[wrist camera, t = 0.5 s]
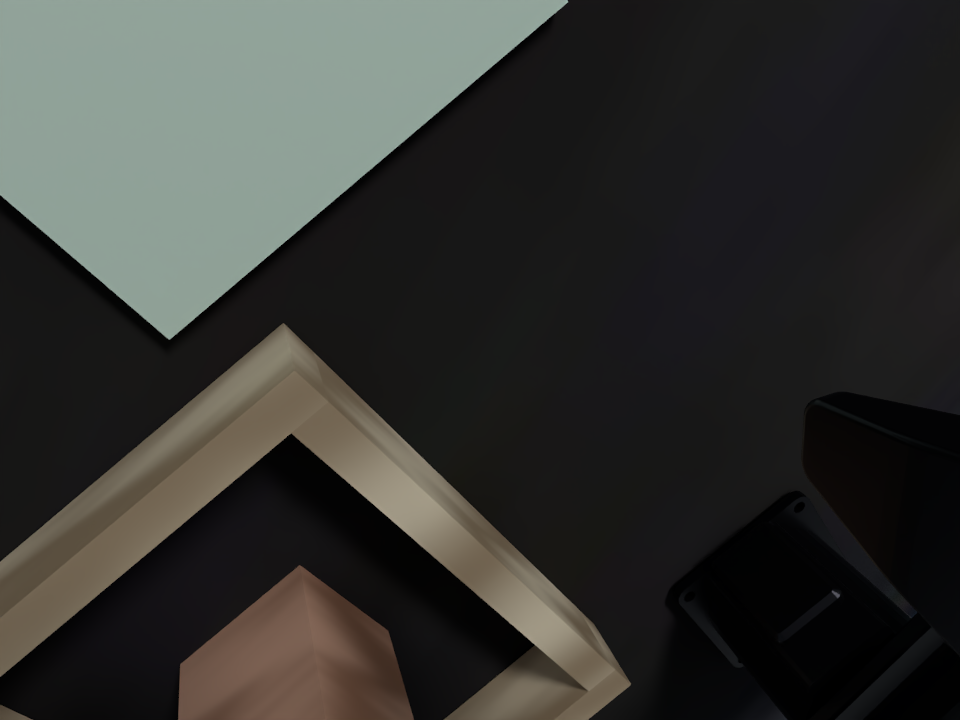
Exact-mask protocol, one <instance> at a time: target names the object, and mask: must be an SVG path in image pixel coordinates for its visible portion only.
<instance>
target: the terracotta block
mask: <svg viewBox="0 0 960 720" xmlns="http://www.w3.org/2000/svg"><path fill="white" fill-rule="evenodd" d="M178 720H414V718H413V715H412V711H411V708H410V704H409V701H408V697H407V694H406V691H405V687H404V684H403V680H402V677H401V673H400V670H399V666H398V663H397V659H396V656H395V652H394V649H393V646H392V642H391V639H390V635H389V632H388V630H386V629H385V628H384V627H382V626H381V625H380V624H378V623H377V622H376V621H374V620H373V619H372V618H370V617H369V616H367V615H366V614H365V613H363V612H362V611H361V610H359V609H358V608H357V607H355V606H354V605H353V604H351V603H350V602H349V601H347V600H346V599H345V598H343V597H342V596H341V595H339V594H338V593H337V592H335V591H334V590H333V589H331V588H330V587H328V586H327V585H326V584H324V583H323V582H322V581H320V580H319V579H318V578H316V577H315V576H314V575H312V574H311V573H310V572H308V571H307V570H306V569H304V568H303V567H302V566H300V565H299V566H298V567H297V568H296V569H295V570H293V571H292V572H291V573H290V574H289V575H287V576H286V577H285V578H284V579H283V580H281V581H280V582H279V583H278V584H277V585H275V586H274V587H273V588H272V589H271V590H269V591H268V592H267V593H266V594H264V595H263V596H262V597H261V598H260V599H258V600H257V601H256V602H255V603H254V604H252V605H251V606H250V607H249V608H248V609H246V610H245V611H244V612H243V613H242V614H240V615H239V616H238V617H237V618H236V619H234V620H233V621H232V622H231V623H230V624H228V625H227V626H226V627H225V628H224V629H222V630H221V631H220V632H219V633H218V634H216V635H215V636H214V637H213V638H212V639H210V640H209V641H208V642H207V643H205V644H204V645H203V646H202V647H201V648H199V649H198V650H197V651H196V652H195V653H193V654H192V655H191V656H190V657H189V658H187V659H186V660H185V661H184V662H183V663H181V664H180V684H179V712H178Z"/></svg>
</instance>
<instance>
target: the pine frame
mask: <svg viewBox="0 0 960 720" xmlns="http://www.w3.org/2000/svg"><path fill="white" fill-rule="evenodd" d="M291 433H292V434H293V435H294V436H295V437H296V438H297V439H298V440H300V441H301V442H302V443H303V444H304V445H305V446H307V447H308V448H309V449H310V450H311V451H312V452H313V453H315V454H316V455H317V456H318V457H319V458H320V459H322V460H323V461H324V462H325V463H326V464H327V465H328V466H330V467H331V468H332V469H333V470H334V471H335V472H336V473H338V474H339V475H340V476H341V477H342V478H343V479H345V480H346V481H347V482H348V483H349V484H350V485H351V486H353V487H354V488H355V489H356V490H357V491H358V492H360V493H361V494H362V495H363V496H364V497H365V498H366V499H368V500H369V501H370V502H371V503H372V504H373V505H375V506H376V507H377V508H378V509H379V510H380V511H381V512H383V513H384V514H385V515H386V516H387V517H388V518H389V519H391V520H392V521H393V522H394V523H395V524H396V525H398V526H399V527H400V528H401V529H402V530H403V531H404V532H406V533H407V534H408V535H409V536H410V537H411V538H413V539H414V540H415V541H416V542H417V543H418V544H419V545H421V546H422V547H423V548H424V549H425V550H426V551H427V552H429V553H430V554H431V555H432V556H433V557H434V558H436V559H437V560H438V561H439V562H440V563H441V564H442V565H444V566H445V567H446V568H447V569H448V570H449V571H451V572H452V573H453V574H454V575H455V576H456V577H457V578H459V579H460V580H461V581H462V582H463V583H464V584H466V585H467V586H468V587H469V588H470V589H471V590H472V591H474V592H475V593H476V594H477V595H478V596H479V597H480V598H482V599H483V600H484V601H485V602H486V603H487V604H489V605H490V606H491V607H492V608H493V609H494V610H495V611H497V612H498V613H499V614H500V615H501V616H502V617H504V618H505V619H506V620H507V621H508V622H509V623H510V624H512V625H513V626H514V627H515V628H516V629H517V630H518V631H520V632H521V633H522V634H523V635H524V636H525V637H527V638H528V639H529V640H530V641H531V642H532V643H533V644H535V646H533V647H532V648H531V649H530V650H529V651H527V652H526V653H525V654H524V655H522V656H521V657H520V658H519V659H518V660H516V661H515V662H514V663H513V664H511V665H510V666H509V667H508V668H507V669H505V670H504V671H503V672H502V673H500V674H499V675H498V676H497V677H496V678H494V679H493V680H492V681H491V682H489V683H488V684H487V685H486V686H484V687H483V688H482V689H481V690H480V691H478V692H477V693H476V694H475V695H473V696H472V697H471V698H470V699H469V700H467V701H466V702H465V703H464V704H462V705H461V706H460V707H459V708H458V709H456V710H455V711H454V712H453V713H451V714H450V715H449V716H448V717H447V718H445V719H444V720H588V719H589V718H590V717H592V716H593V715H594V714H595V713H597V712H598V711H599V710H600V709H602V708H603V707H604V706H605V705H606V704H608V703H609V702H610V701H611V700H613V699H614V698H615V697H616V696H618V695H619V694H620V693H621V692H623V691H624V690H625V689H626V688H627V687H629V686H630V685H631V683H630V682H629V680H628V679H627V677H626V675H625V674H624V672H623V670H622V669H621V667H620V666H619V664H618V662H617V661H616V659H615V658H614V656H613V654H612V653H611V651H610V649H609V648H608V646H607V645H606V643H605V641H604V640H603V638H602V637H601V635H600V633H599V632H598V630H597V628H596V627H595V625H594V624H593V623H592V622H591V621H590V620H589V619H588V618H587V617H586V616H585V615H584V614H583V613H582V612H581V611H580V610H579V609H578V608H577V607H576V606H575V605H574V604H573V603H571V602H570V601H569V600H568V599H567V598H566V597H565V596H564V595H563V594H562V593H561V592H560V591H559V590H558V589H557V588H556V587H555V586H554V585H553V584H552V583H551V582H550V581H549V580H548V579H547V578H546V577H545V576H544V575H543V574H542V573H541V572H540V571H538V570H537V569H536V568H535V567H534V566H533V565H532V564H531V563H530V562H529V561H528V560H527V559H526V558H525V557H524V556H523V555H522V554H521V553H520V552H519V551H518V550H517V549H516V548H515V547H514V546H513V545H512V544H511V543H510V542H509V541H508V540H507V539H506V538H504V537H503V536H502V535H501V534H500V533H499V532H498V531H497V530H496V529H495V528H494V527H493V526H492V525H491V524H490V523H489V522H488V521H487V520H486V519H485V518H484V517H483V516H482V515H481V514H480V513H479V512H478V511H477V510H476V509H475V508H474V507H473V506H471V505H470V504H469V503H468V502H467V501H466V500H465V499H464V498H463V497H462V496H461V495H460V494H459V493H458V492H457V491H456V490H455V489H454V488H453V487H452V486H451V485H450V484H449V483H448V482H447V481H446V480H445V479H444V478H443V477H442V476H441V475H440V474H439V473H437V472H436V471H435V470H434V469H433V468H432V467H431V466H430V465H429V464H428V463H427V462H426V461H425V460H424V459H423V458H422V457H421V456H420V455H419V454H418V453H417V452H416V451H415V450H414V449H413V448H412V447H411V446H410V445H409V444H408V443H407V442H406V441H404V440H403V439H402V438H401V437H400V436H399V435H398V434H397V433H396V432H395V431H394V430H393V429H392V428H391V427H390V426H389V425H388V424H387V423H386V422H385V421H384V420H383V419H382V418H381V417H380V416H379V415H378V414H377V413H376V412H375V411H374V410H373V409H372V408H370V407H369V406H368V405H367V404H366V403H365V402H364V401H363V400H362V399H361V398H360V397H359V396H358V395H357V394H356V393H355V392H354V391H353V390H352V389H351V388H350V387H349V386H348V385H347V384H346V383H345V382H344V381H343V380H342V379H341V378H340V377H339V376H337V375H336V374H335V373H334V372H333V371H332V370H331V369H330V368H329V367H328V366H327V365H326V364H325V363H324V362H323V361H322V360H321V359H320V358H319V357H318V356H317V355H316V354H315V353H314V352H313V351H312V350H311V349H310V348H309V347H308V346H307V345H306V344H305V343H303V342H302V341H301V340H300V339H299V338H298V337H297V336H296V335H295V334H294V333H293V332H292V331H291V330H290V329H289V328H288V327H287V326H286V325H285V324H284V323H283V324H282V325H281V326H279V327H278V328H277V329H276V330H275V331H273V332H272V333H271V334H270V335H269V336H267V337H266V338H265V339H264V340H263V341H262V342H260V343H259V344H258V345H257V346H256V347H254V348H253V349H252V350H251V351H250V352H248V353H247V354H246V355H245V356H244V357H243V358H241V359H240V360H239V361H238V362H237V363H235V364H234V365H233V366H232V367H231V368H230V369H228V370H227V371H226V372H225V373H224V374H222V375H221V376H220V377H219V378H218V379H216V380H215V381H214V382H213V383H212V384H211V385H209V386H208V387H207V388H206V389H205V390H203V391H202V392H201V393H200V394H199V395H198V396H196V397H195V398H194V399H193V400H192V401H190V402H189V403H188V404H187V405H186V406H184V407H183V408H182V409H181V410H180V411H179V412H177V413H176V414H175V415H174V416H173V417H171V418H170V419H169V420H168V421H167V422H165V423H164V424H163V425H162V426H161V427H160V428H158V429H157V430H156V431H155V432H154V433H152V434H151V435H150V436H149V437H148V438H147V439H145V440H144V441H143V442H142V443H141V444H139V445H138V446H137V447H136V448H135V449H133V450H132V451H131V452H130V453H129V454H128V455H126V456H125V457H124V458H123V459H122V460H120V461H119V462H118V463H117V464H116V465H115V466H113V467H112V468H111V469H110V470H109V471H107V472H106V473H105V474H104V475H103V476H101V477H100V478H99V479H98V480H97V481H96V482H94V483H93V484H92V485H91V486H90V487H88V488H87V489H86V490H85V491H84V492H82V493H81V494H80V495H79V496H78V497H77V498H75V499H74V500H73V501H72V502H71V503H69V504H68V505H67V506H66V507H65V508H64V509H62V510H61V511H60V512H59V513H58V514H56V515H55V516H54V517H53V518H52V519H50V520H49V521H48V522H47V523H46V524H45V525H43V526H42V527H41V528H40V529H39V530H37V531H36V532H35V533H34V534H33V535H32V536H30V537H29V538H28V539H27V540H26V541H24V542H23V543H22V544H21V545H20V546H18V547H17V548H16V549H15V550H14V551H13V552H11V553H10V554H9V555H8V556H7V557H5V558H4V559H3V560H2V561H1V562H0V677H1V676H2V675H3V674H4V673H5V672H7V671H8V670H9V669H10V668H11V667H13V666H14V665H15V664H16V663H17V662H19V661H20V660H21V659H22V658H23V657H24V656H26V655H27V654H28V653H29V652H30V651H32V650H33V649H34V648H35V647H36V646H38V645H39V644H40V643H41V642H42V641H44V640H45V639H46V638H47V637H48V636H50V635H51V634H52V633H53V632H54V631H56V630H57V629H58V628H59V627H60V626H62V625H63V624H64V623H65V622H66V621H67V620H69V619H70V618H71V617H72V616H73V615H75V614H76V613H77V612H78V611H79V610H81V609H82V608H83V607H84V606H85V605H87V604H88V603H89V602H90V601H91V600H93V599H94V598H95V597H96V596H97V595H99V594H100V593H101V592H102V591H103V590H104V589H106V588H107V587H108V586H109V585H110V584H112V583H113V582H114V581H115V580H116V579H118V578H119V577H120V576H121V575H122V574H124V573H125V572H126V571H127V570H128V569H130V568H131V567H132V566H133V565H134V564H136V563H137V562H138V561H139V560H140V559H141V558H143V557H144V556H145V555H146V554H147V553H149V552H150V551H151V550H152V549H153V548H155V547H156V546H157V545H158V544H159V543H161V542H162V541H163V540H164V539H165V538H167V537H168V536H169V535H170V534H171V533H173V532H174V531H175V530H176V529H177V528H179V527H180V526H181V525H182V524H183V523H184V522H186V521H187V520H188V519H189V518H190V517H192V516H193V515H194V514H195V513H196V512H198V511H199V510H200V509H201V508H202V507H204V506H205V505H206V504H207V503H208V502H210V501H211V500H212V499H213V498H214V497H216V496H217V495H218V494H219V493H220V492H221V491H223V490H224V489H225V488H226V487H227V486H229V485H230V484H231V483H232V482H233V481H235V480H236V479H237V478H238V477H239V476H241V475H242V474H243V473H244V472H245V471H247V470H248V469H249V468H250V467H251V466H253V465H254V464H255V463H256V462H257V461H259V460H260V459H261V458H262V457H263V456H264V455H266V454H267V453H268V452H269V451H270V450H272V449H273V448H274V447H275V446H276V445H278V444H279V443H280V442H281V441H282V440H284V439H285V438H286V437H287V436H288V435H290V434H291ZM0 720H32V719H30V718H28V717H26V716H23V715H21V714H19V713H17V712H15V711H13V710H10V709H8V708H6V707H4V706H2V705H0Z"/></svg>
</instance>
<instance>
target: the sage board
mask: <svg viewBox="0 0 960 720" xmlns="http://www.w3.org/2000/svg"><path fill="white" fill-rule="evenodd" d="M566 3H568V1H567V0H0V195H1V196H2V197H3V198H4V199H5V200H7V201H8V202H9V203H10V204H11V205H12V206H14V207H15V208H16V209H17V210H18V211H19V212H21V213H22V214H23V215H24V216H25V217H26V218H28V219H29V220H30V221H31V222H32V223H33V224H35V225H36V226H37V227H38V228H39V229H40V230H42V231H43V232H44V233H45V234H46V235H47V236H49V237H50V238H51V239H52V240H53V241H54V242H56V243H57V244H58V245H59V246H60V247H61V248H63V249H64V250H65V251H66V252H67V253H69V254H70V255H71V256H72V257H73V258H74V259H76V260H77V261H78V262H79V263H80V264H81V265H83V266H84V267H85V268H86V269H87V270H88V271H90V272H91V273H92V274H93V275H94V276H95V277H97V278H98V279H99V280H100V281H101V282H102V283H104V284H105V285H106V286H107V287H108V288H109V289H111V290H112V291H113V292H114V293H115V294H116V295H118V296H119V297H120V298H121V299H122V300H123V301H125V302H126V303H127V304H128V305H129V306H130V307H132V308H133V309H134V310H135V311H136V312H137V313H139V314H140V315H141V316H142V317H143V318H144V319H146V320H147V321H148V322H149V323H150V324H151V325H153V326H154V327H155V328H156V329H157V330H158V331H160V332H161V333H162V334H163V335H164V336H165V337H167V338H168V339H169V340H170V339H171V338H172V337H173V336H175V335H176V334H177V333H178V332H179V331H180V330H182V329H183V328H184V327H185V326H186V325H188V324H189V323H190V322H191V321H192V320H193V319H195V318H196V317H197V316H198V315H199V314H201V313H202V312H203V311H204V310H205V309H206V308H208V307H209V306H210V305H211V304H212V303H213V302H215V301H216V300H217V299H218V298H219V297H221V296H222V295H223V294H224V293H225V292H226V291H228V290H229V289H230V288H231V287H232V286H234V285H235V284H236V283H237V282H238V281H239V280H241V279H242V278H243V277H244V276H245V275H247V274H248V273H249V272H250V271H251V270H252V269H254V268H255V267H256V266H257V265H258V264H260V263H261V262H262V261H263V260H264V259H265V258H267V257H268V256H269V255H270V254H271V253H272V252H274V251H275V250H276V249H277V248H278V247H280V246H281V245H282V244H283V243H284V242H285V241H287V240H288V239H289V238H290V237H291V236H293V235H294V234H295V233H296V232H297V231H298V230H300V229H301V228H302V227H303V226H304V225H306V224H307V223H308V222H309V221H310V220H311V219H313V218H314V217H315V216H316V215H317V214H319V213H320V212H321V211H322V210H323V209H324V208H326V207H327V206H328V205H329V204H330V203H331V202H333V201H334V200H335V199H336V198H337V197H339V196H340V195H341V194H342V193H343V192H344V191H346V190H347V189H348V188H349V187H350V186H352V185H353V184H354V183H355V182H356V181H357V180H359V179H360V178H361V177H362V176H363V175H365V174H366V173H367V172H368V171H369V170H370V169H372V168H373V167H374V166H375V165H376V164H378V163H379V162H380V161H381V160H382V159H383V158H385V157H386V156H387V155H388V154H389V153H391V152H392V151H393V150H394V149H395V148H396V147H398V146H399V145H400V144H401V143H402V142H403V141H405V140H406V139H407V138H408V137H409V136H411V135H412V134H413V133H414V132H415V131H416V130H418V129H419V128H420V127H421V126H422V125H424V124H425V123H426V122H427V121H428V120H429V119H431V118H432V117H433V116H434V115H435V114H437V113H438V112H439V111H440V110H441V109H442V108H444V107H445V106H446V105H447V104H448V103H450V102H451V101H452V100H453V99H454V98H455V97H457V96H458V95H459V94H460V93H461V92H462V91H464V90H465V89H466V88H467V87H468V86H470V85H471V84H472V83H473V82H474V81H475V80H477V79H478V78H479V77H480V76H481V75H483V74H484V73H485V72H486V71H487V70H488V69H490V68H491V67H492V66H493V65H494V64H496V63H497V62H498V61H499V60H500V59H501V58H503V57H504V56H505V55H506V54H507V53H509V52H510V51H511V50H512V49H513V48H514V47H516V46H517V45H518V44H519V43H520V42H521V41H523V40H524V39H525V38H526V37H527V36H529V35H530V34H531V33H532V32H533V31H534V30H536V29H537V28H538V27H539V26H540V25H542V24H543V23H544V22H545V21H546V20H547V19H549V18H550V17H551V16H552V15H553V14H555V13H556V12H557V11H558V10H559V9H560V8H562V7H563V6H564V5H565V4H566Z"/></svg>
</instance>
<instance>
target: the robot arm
mask: <svg viewBox="0 0 960 720" xmlns="http://www.w3.org/2000/svg"><path fill="white" fill-rule="evenodd" d="M801 461H802V466H803V469H804V472H805V474H806V476H807V478H808V479H809V481H810V482H811V484H812V485H813V486H814V487H815V489H816V490H817V491H818V493H819V494H820V495H821V496H822V498H823V499H824V500H825V501H826V503H827V504H828V505H829V507H830V508H831V509H832V510H833V512H834V513H835V514H836V515H837V517H838V518H839V519H840V521H841V522H842V523H843V524H844V526H845V527H846V528H847V529H848V531H849V532H850V533H851V535H852V536H853V537H854V538H855V540H856V541H857V542H858V543H859V545H860V546H861V547H862V549H863V550H864V551H865V552H866V554H867V555H868V556H869V557H870V559H871V560H872V561H873V563H874V564H875V565H876V566H877V567H878V569H879V570H880V571H881V572H882V573H883V575H884V576H885V577H886V578H887V579H888V581H889V582H890V583H891V584H892V585H893V586H894V587H895V588H896V590H897V591H898V592H899V593H900V594H901V595H902V596H903V597H904V598H905V599H906V600H907V602H908V603H909V604H910V605H911V606H912V607H913V608H914V609H915V610H916V611H917V612H918V613H917V614H916V615H915V616H914V617H912V618H911V617H910V616H909V615H907V614H906V613H905V612H904V611H903V610H902V609H901V608H900V607H898V606H897V605H896V604H895V603H894V602H893V601H892V600H890V599H889V598H888V597H887V596H886V595H885V594H884V593H882V592H881V591H880V590H879V589H878V588H877V587H876V586H875V585H873V584H872V583H871V582H870V581H869V580H868V579H867V578H865V577H864V576H863V575H862V574H861V573H860V572H859V571H858V570H856V569H855V568H854V567H853V566H852V565H851V564H850V563H848V562H847V561H846V559H845V557H844V556H843V554H842V552H841V551H840V549H839V547H838V546H837V544H836V542H835V541H834V539H833V537H832V536H831V534H830V532H829V531H828V529H827V528H826V526H825V524H824V523H823V521H822V519H821V518H820V516H819V514H818V513H817V511H816V509H815V508H814V506H813V504H812V503H811V501H810V499H809V498H807V497H806V496H805V495H804V494H803V493H801V492H800V491H794V492H791V493H790V494H788V495H787V496H786V497H784V498H783V499H782V500H781V501H780V502H778V503H777V504H776V505H775V506H773V507H772V508H771V509H770V510H769V511H767V512H766V513H765V514H764V515H762V516H761V517H760V518H759V519H757V520H756V521H755V522H754V523H753V524H751V525H750V526H749V527H748V528H746V529H745V530H744V531H743V532H742V533H740V534H739V535H738V536H737V537H735V538H734V539H733V540H732V541H730V542H729V543H728V544H727V545H726V546H724V547H723V548H722V549H721V550H719V551H718V552H717V553H716V554H714V555H713V556H712V557H711V558H710V559H708V560H707V561H706V562H705V563H703V564H702V565H701V566H700V567H699V568H697V569H696V570H695V571H694V572H692V573H691V574H690V575H689V576H687V577H686V578H685V579H684V580H683V581H681V582H680V583H679V584H678V585H677V586H676V587H675V589H674V591H673V596H674V598H675V599H676V600H677V602H678V603H679V604H680V605H681V606H682V608H683V609H684V610H685V611H686V612H687V613H688V614H689V616H690V617H691V618H692V619H693V620H694V621H695V622H696V624H697V625H698V626H699V627H700V628H701V629H702V630H703V631H704V633H705V634H706V635H707V636H708V637H709V638H710V639H711V641H712V642H713V643H714V644H715V645H716V646H717V647H718V649H719V650H720V651H721V652H722V653H723V654H724V655H725V657H726V658H727V659H728V660H729V661H730V662H731V663H732V664H733V666H735V667H736V668H740V667H743V666H745V668H746V669H747V670H748V671H749V673H750V674H751V675H752V676H753V678H754V679H755V680H756V681H757V683H758V684H759V685H760V686H761V688H762V689H763V690H764V691H765V692H766V694H767V695H768V696H769V697H770V699H771V700H772V701H773V702H774V704H775V705H776V706H777V707H778V709H779V710H780V711H781V712H782V714H783V715H784V716H785V717H786V719H787V720H960V415H956V414H951V413H946V412H942V411H937V410H932V409H927V408H922V407H917V406H912V405H907V404H902V403H898V402H893V401H888V400H883V399H878V398H873V397H868V396H863V395H859V394H854V393H849V392H836V393H832V394H829V395H826V396H823V397H820V398H817V399H814V400H812V401H811V402H809V403H808V405H807V406H806V408H805V412H804V423H803V438H802V454H801Z"/></svg>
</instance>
